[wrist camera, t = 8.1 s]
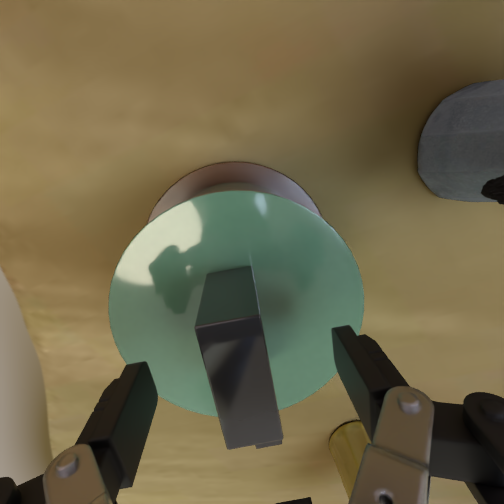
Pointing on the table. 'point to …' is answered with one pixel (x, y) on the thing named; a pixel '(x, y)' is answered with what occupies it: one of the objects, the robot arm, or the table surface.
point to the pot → (236, 306)
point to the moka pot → (466, 145)
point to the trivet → (232, 174)
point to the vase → (348, 451)
